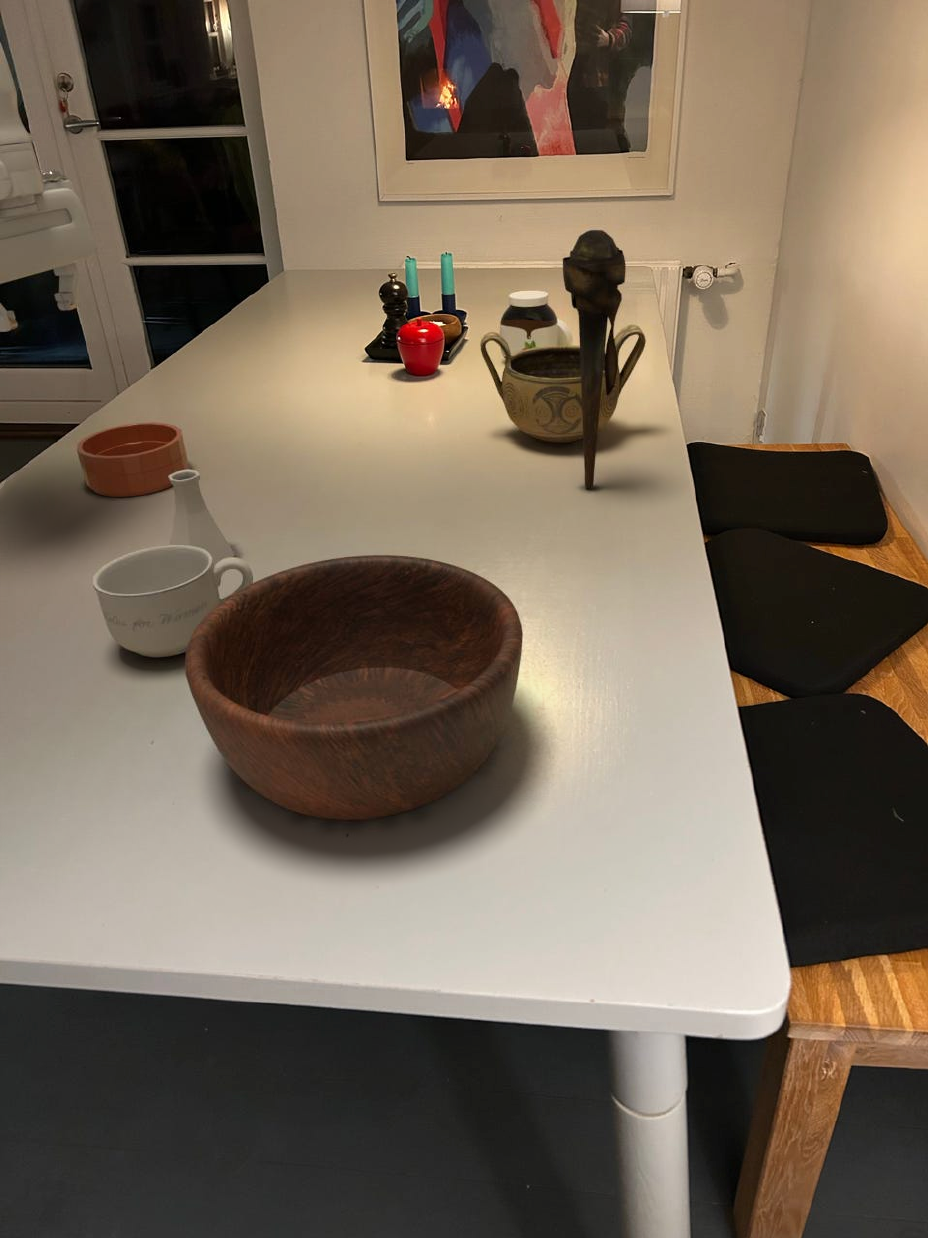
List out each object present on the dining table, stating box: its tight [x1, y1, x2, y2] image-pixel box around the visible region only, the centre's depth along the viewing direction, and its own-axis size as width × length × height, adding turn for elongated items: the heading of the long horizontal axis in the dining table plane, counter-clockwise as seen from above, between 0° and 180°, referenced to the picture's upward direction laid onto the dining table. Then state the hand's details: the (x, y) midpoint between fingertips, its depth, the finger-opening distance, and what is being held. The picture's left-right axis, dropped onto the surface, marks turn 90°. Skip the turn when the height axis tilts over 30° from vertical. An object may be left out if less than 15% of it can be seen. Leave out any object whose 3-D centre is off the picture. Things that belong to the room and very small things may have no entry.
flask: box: [168, 468, 236, 565], centre depth 100 cm, size 7×7×10 cm
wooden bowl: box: [184, 554, 524, 821], centre depth 71 cm, size 25×25×10 cm
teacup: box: [92, 544, 254, 658], centre depth 86 cm, size 14×11×8 cm
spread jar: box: [499, 290, 574, 360], centre depth 163 cm, size 12×11×12 cm
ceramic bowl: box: [480, 324, 647, 444], centre depth 127 cm, size 22×17×15 cm
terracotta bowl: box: [76, 422, 190, 498], centre depth 123 cm, size 13×13×6 cm
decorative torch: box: [562, 229, 627, 489], centre depth 107 cm, size 7×7×30 cm
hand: (39, 319), depth 99 cm, fingers open, 8 cm apart
